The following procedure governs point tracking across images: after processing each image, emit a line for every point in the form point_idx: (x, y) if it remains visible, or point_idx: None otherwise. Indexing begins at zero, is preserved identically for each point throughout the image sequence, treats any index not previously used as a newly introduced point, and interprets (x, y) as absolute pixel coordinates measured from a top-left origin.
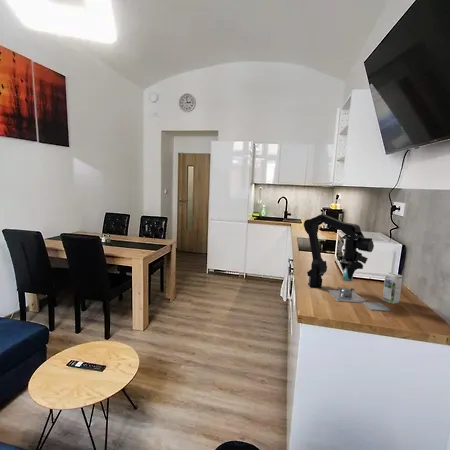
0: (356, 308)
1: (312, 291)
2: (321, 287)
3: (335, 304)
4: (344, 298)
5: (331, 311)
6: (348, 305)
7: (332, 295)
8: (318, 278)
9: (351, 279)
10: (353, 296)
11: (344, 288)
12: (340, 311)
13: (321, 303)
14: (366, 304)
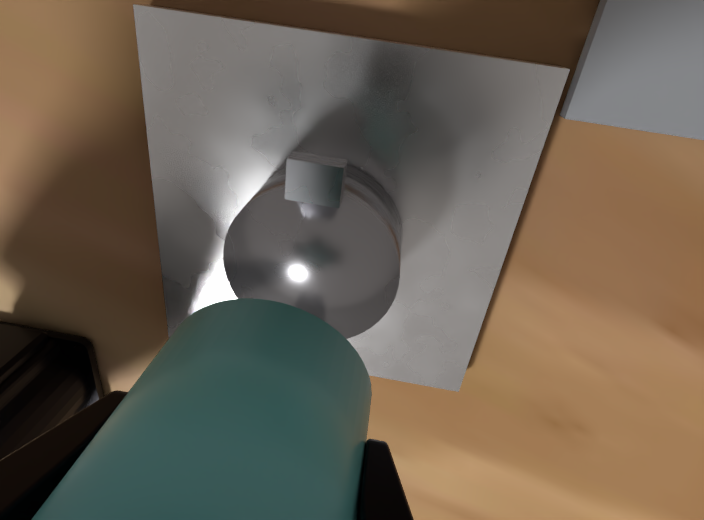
0: (690, 301)
1: None
2: (86, 345)
3: (533, 426)
4: (443, 312)
5: (663, 517)
6: (587, 334)
7: None
8: (10, 452)
9: (361, 402)
10: (378, 154)
11: (262, 270)
12: (691, 466)
13: (490, 502)
14: (674, 125)
